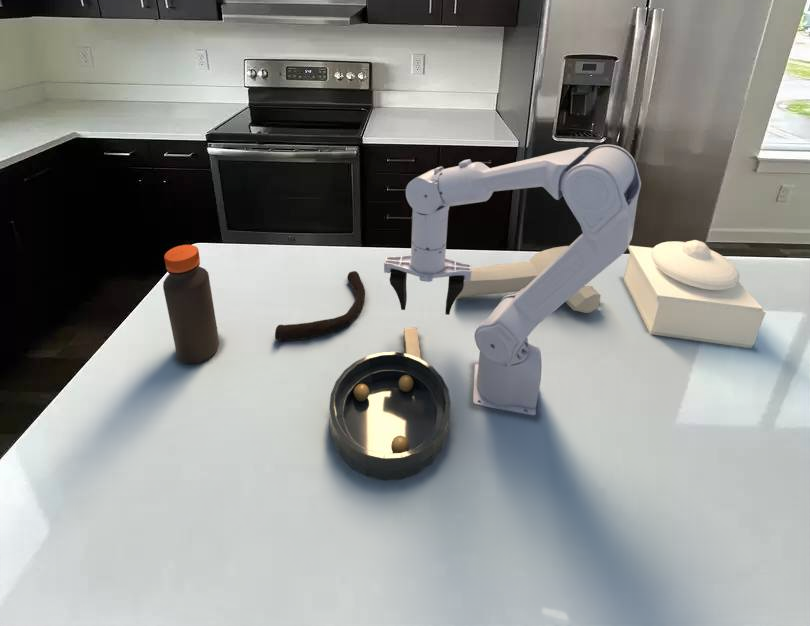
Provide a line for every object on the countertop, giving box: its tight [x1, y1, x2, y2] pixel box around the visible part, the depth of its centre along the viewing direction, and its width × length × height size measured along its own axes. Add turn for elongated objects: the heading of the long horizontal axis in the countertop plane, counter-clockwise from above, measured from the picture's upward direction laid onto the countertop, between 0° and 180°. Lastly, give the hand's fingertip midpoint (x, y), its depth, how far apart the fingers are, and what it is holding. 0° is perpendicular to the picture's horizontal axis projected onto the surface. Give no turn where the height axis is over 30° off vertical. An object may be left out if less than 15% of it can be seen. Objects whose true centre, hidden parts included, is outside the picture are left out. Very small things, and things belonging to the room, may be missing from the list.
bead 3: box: [391, 436, 409, 453], centre depth 58 cm, size 2×2×2 cm
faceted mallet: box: [456, 245, 601, 314], centre depth 89 cm, size 30×14×11 cm, turn 88°
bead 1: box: [354, 384, 369, 401], centre depth 66 cm, size 2×2×2 cm
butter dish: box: [623, 239, 766, 349], centre depth 86 cm, size 18×18×16 cm
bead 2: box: [398, 375, 414, 392], centre depth 68 cm, size 2×2×2 cm
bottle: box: [162, 244, 220, 365], centre depth 72 cm, size 7×7×20 cm
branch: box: [274, 270, 366, 342], centre depth 84 cm, size 23×10×3 cm, turn 147°
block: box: [403, 327, 422, 359], centre depth 75 cm, size 8×2×2 cm, turn 4°
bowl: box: [328, 351, 452, 481], centre depth 63 cm, size 17×17×4 cm
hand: (425, 308), depth 74 cm, fingers open, 7 cm apart
